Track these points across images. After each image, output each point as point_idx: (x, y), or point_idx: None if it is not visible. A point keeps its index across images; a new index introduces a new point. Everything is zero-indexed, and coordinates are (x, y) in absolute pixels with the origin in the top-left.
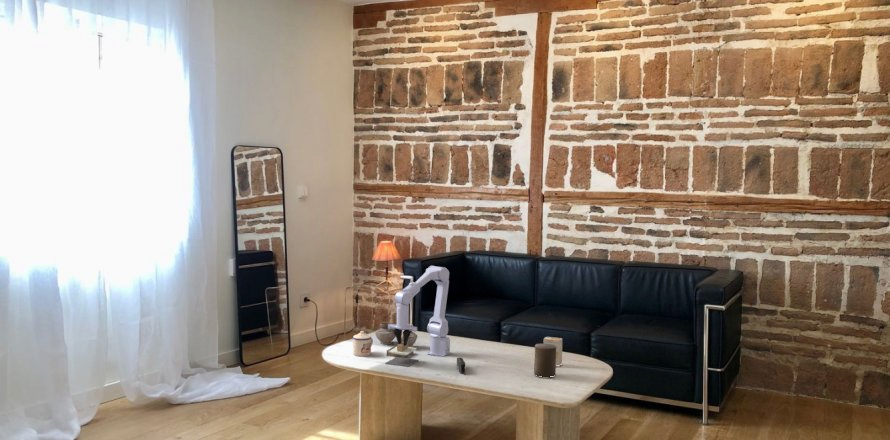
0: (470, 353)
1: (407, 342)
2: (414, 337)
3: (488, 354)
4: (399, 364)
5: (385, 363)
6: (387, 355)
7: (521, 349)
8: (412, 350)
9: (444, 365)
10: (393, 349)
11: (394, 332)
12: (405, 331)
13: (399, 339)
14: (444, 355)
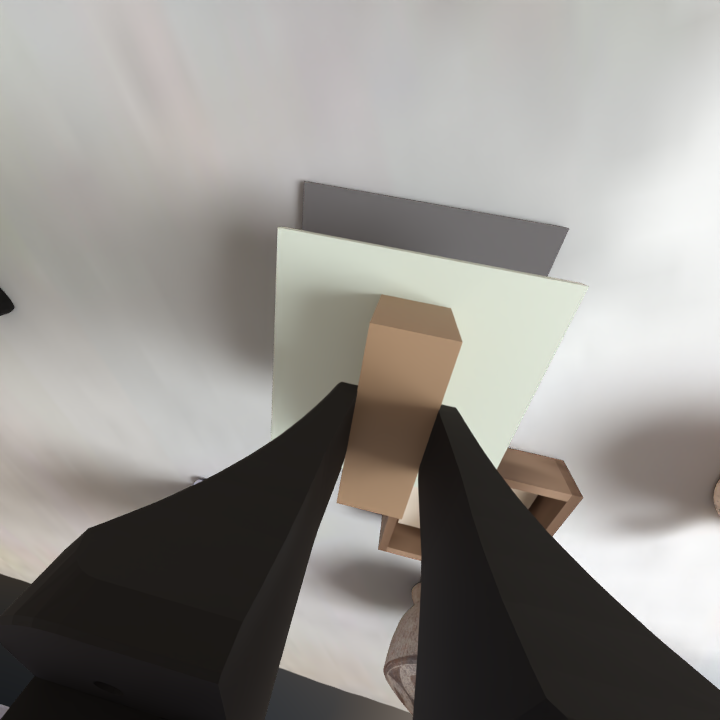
0: None
1: (339, 489)
2: (393, 658)
3: (60, 515)
4: (403, 211)
5: (565, 227)
6: (556, 462)
7: (22, 564)
8: (274, 371)
9: (88, 307)
10: (516, 380)
11: (695, 702)
12: (130, 690)
13: (441, 485)
14: (194, 482)
